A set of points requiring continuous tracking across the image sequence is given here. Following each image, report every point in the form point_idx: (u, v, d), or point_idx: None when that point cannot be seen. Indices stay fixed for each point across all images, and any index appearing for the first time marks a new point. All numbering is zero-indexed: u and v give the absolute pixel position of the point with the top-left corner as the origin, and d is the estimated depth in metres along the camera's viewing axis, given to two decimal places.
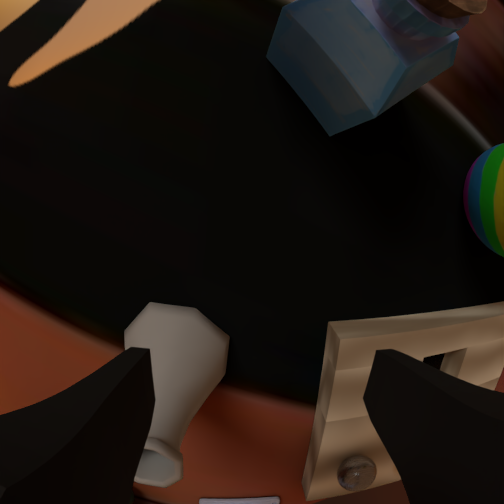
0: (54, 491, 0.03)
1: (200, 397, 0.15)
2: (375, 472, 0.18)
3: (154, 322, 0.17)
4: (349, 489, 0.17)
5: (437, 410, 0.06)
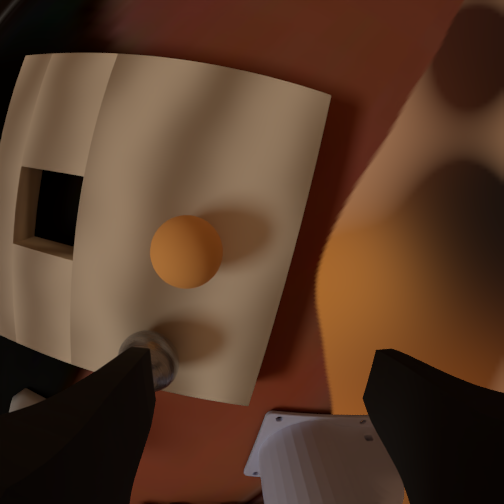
0: (53, 491, 0.03)
1: None
2: None
3: None
4: None
5: (437, 410, 0.06)
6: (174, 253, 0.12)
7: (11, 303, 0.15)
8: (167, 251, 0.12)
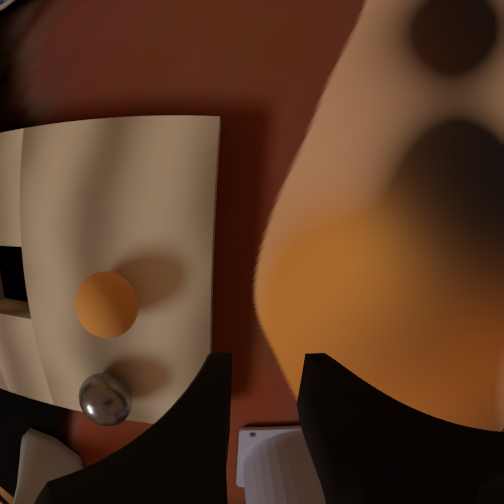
0: None
1: (30, 473, 0.16)
2: (85, 390, 0.14)
3: None
4: (109, 425, 0.14)
5: (350, 428, 0.06)
6: (87, 312, 0.12)
7: None
8: (83, 311, 0.12)
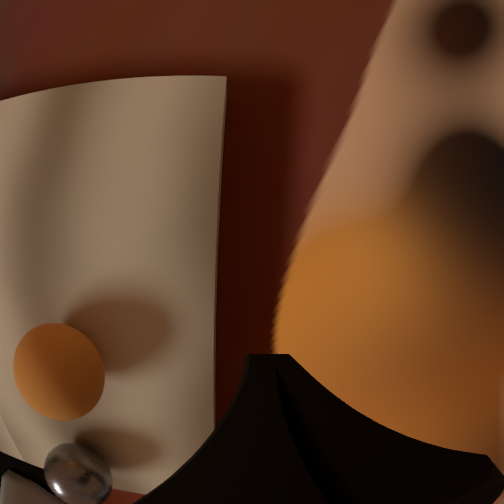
0: None
1: None
2: (49, 469, 0.08)
3: None
4: None
5: (300, 433, 0.05)
6: (27, 391, 0.06)
7: None
8: (21, 387, 0.06)
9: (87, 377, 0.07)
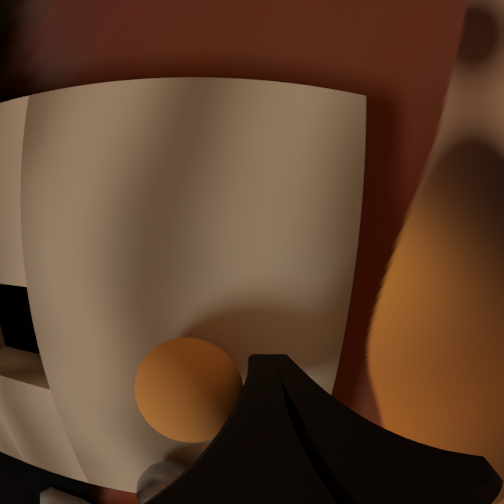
0: None
1: None
2: (150, 494, 0.08)
3: None
4: None
5: (296, 433, 0.05)
6: (169, 418, 0.07)
7: (4, 427, 0.10)
8: (158, 414, 0.07)
9: (238, 392, 0.08)
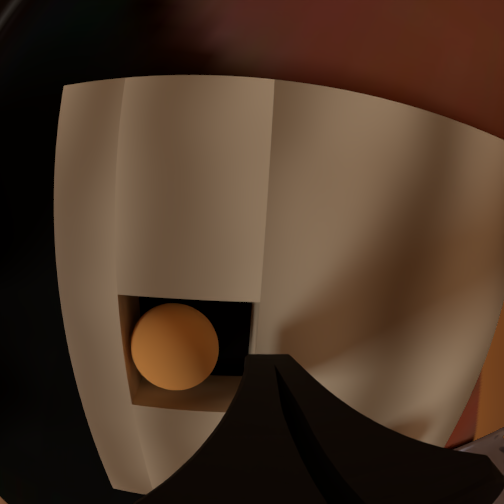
0: None
1: None
2: None
3: None
4: None
5: (300, 433, 0.05)
6: (131, 347, 0.10)
7: (142, 464, 0.11)
8: (131, 343, 0.10)
9: (180, 357, 0.09)
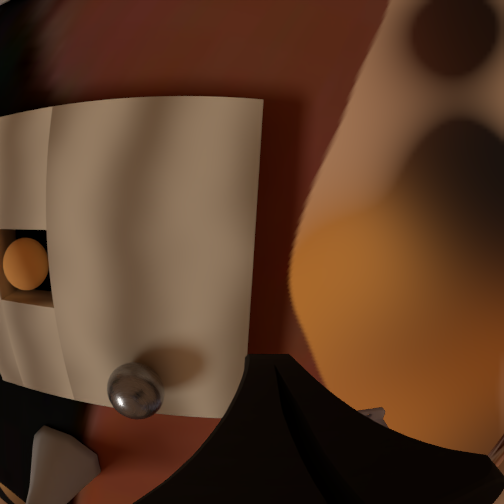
0: None
1: (44, 473, 0.16)
2: (115, 381, 0.14)
3: None
4: (141, 417, 0.14)
5: (300, 433, 0.05)
6: None
7: (12, 352, 0.16)
8: None
9: (21, 263, 0.14)
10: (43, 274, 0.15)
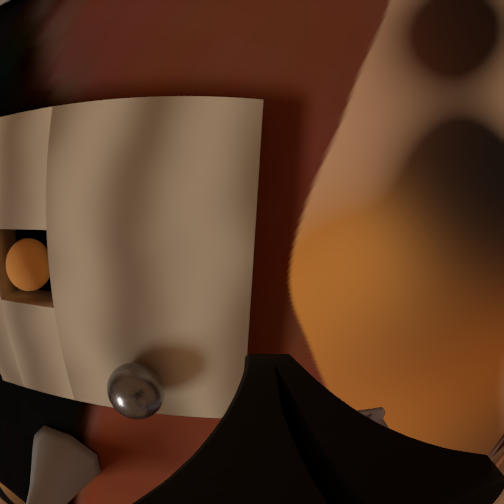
0: None
1: (44, 473, 0.16)
2: (115, 381, 0.14)
3: None
4: (141, 417, 0.14)
5: (300, 433, 0.05)
6: None
7: (12, 352, 0.16)
8: None
9: (28, 264, 0.14)
10: (48, 274, 0.16)
